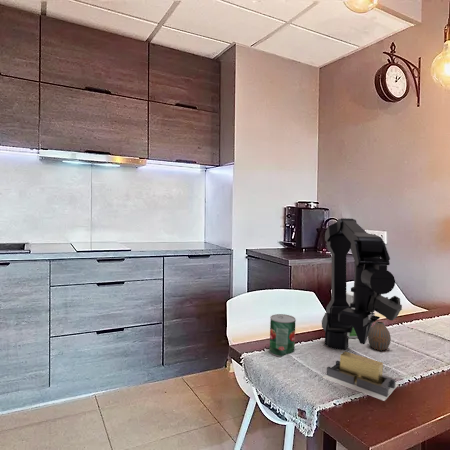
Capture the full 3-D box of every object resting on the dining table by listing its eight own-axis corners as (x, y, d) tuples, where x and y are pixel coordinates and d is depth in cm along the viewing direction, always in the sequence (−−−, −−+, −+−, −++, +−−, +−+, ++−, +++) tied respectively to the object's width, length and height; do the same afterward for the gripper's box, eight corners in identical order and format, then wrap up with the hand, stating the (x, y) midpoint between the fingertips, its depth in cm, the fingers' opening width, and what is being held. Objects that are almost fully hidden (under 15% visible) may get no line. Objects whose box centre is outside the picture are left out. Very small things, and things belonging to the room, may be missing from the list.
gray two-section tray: (326, 375, 97) (326, 367, 97) (336, 367, 102) (337, 360, 102) (386, 396, 86) (387, 388, 86) (395, 387, 91) (395, 379, 91)
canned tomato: (299, 356, 111) (300, 321, 110) (275, 358, 109) (277, 322, 108) (287, 346, 119) (288, 313, 118) (265, 348, 116) (266, 314, 116)
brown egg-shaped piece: (388, 346, 121) (390, 320, 121) (391, 353, 115) (392, 327, 114) (366, 342, 123) (368, 317, 123) (367, 350, 117) (369, 324, 116)
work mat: (321, 381, 95) (321, 377, 95) (339, 367, 104) (339, 364, 103) (384, 405, 85) (384, 400, 85) (398, 388, 93) (398, 384, 93)
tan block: (339, 376, 96) (340, 354, 96) (344, 372, 98) (345, 351, 98) (377, 390, 90) (379, 366, 89) (381, 385, 92) (383, 362, 91)
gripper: (386, 296, 80) (382, 364, 81) (410, 284, 94) (406, 342, 95) (338, 287, 88) (335, 350, 89) (367, 277, 102) (364, 331, 103)
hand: (362, 343), depth 94 cm, fingers closed
